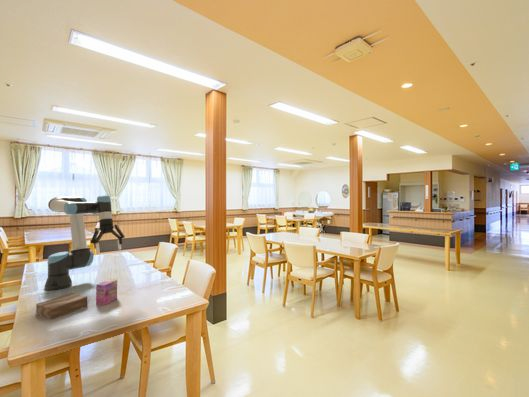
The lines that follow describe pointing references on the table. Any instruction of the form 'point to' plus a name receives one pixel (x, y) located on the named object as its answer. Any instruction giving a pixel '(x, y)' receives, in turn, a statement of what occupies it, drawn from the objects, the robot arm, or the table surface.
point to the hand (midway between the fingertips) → (109, 251)
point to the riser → (61, 305)
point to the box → (106, 292)
